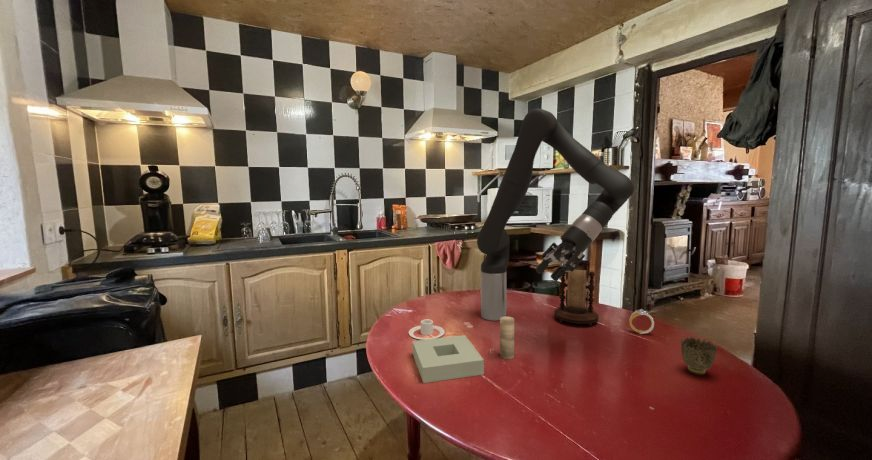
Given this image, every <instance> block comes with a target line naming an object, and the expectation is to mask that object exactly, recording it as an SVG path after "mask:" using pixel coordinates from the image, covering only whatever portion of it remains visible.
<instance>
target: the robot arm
mask: <svg viewBox="0 0 872 460" xmlns="http://www.w3.org/2000/svg"><path fill="white" fill-rule="evenodd" d="M520 125H521V126H520V129H519V132H518V136H517V140H516V144H515V146H514V150H513V152H512V154H511V156H510V159H509V162H508V164H507V167H506V169H505V172H504V174H503V176H502V179H501V181H500V184H499V186H498V189H497V192H496V195H495V197H494V200H493V202H492V205H491V207H490V211H489V213H488V215H487V217H486V218H485V221H484V223H483V225H482V227H481V229H480V231H479V233H478V235H477V240H476V246H477V248H478V250H479V251H480V252H481V253H482V254H484V255H485V257H484V259H483V260H482V262H481V264H480V317H481V318H482V319H484V320H486V321H496V322H497V321H500V318H501V317H505V316H507V270H508V269H507V268H508V264H509V261H510V236H509V233H508V232H507V230H506V229H505V227H506V226H507V224H508V222H509V220H510V219H511V217H513V215H514V213H515V212H516V211H517V209H519V207H520V206H521V205H522V202H523V201H524V199H525V197H526V195H527V192H528V190H529V188H530V185H531V182H532V178H533V170H534V163H535V157H536V154H537V152H538V150H539V148H540V147H541V144H542V142H544V143H545V144H547V145H548V146H550V147H551V148H553V149H554V150H555V151H557V153H558V154H559V155H560V156H561V157H562V158H563V159H564V160H565V161H566V163H567V164H568V166H570V168H571V169H572V170H574V171H575V172H576V174H578V175H579V176H580V177H581V178H582V179H584V180H585V181H586V182H587V183H589V184H590V185H598V186H600V187H601V188H602V189H603V190H602V192H601V193H599V195H598V197H597V198H596V199H595V200H594V201H593V202H592V203H590V204H589V205H588V206H587V207H586V209H585V210H583V212H582V213H581V215H579V216H578V217H577V218H576V219H575V220H574V221H573V222H572V224H571V225H570V226H568V228H567V229H566V231H564V233H563V234H562V235H561V236H560V239H561V242H560V243H559V244H557V243H556V242H552V244H550V245H549V247H547V249H545V251H544V252H543V253H541V255H540V258H542V261H541V262H539V264H538V266H536V268H535V271H536V272H537V273H538V274H540V275H542V274H543V273H544V272H545V271H546V269H547V268H548V267H549V265H551V264H554V263H558V262H560V264H559V266H557V267H556V269H554V270H553V272H552V273H551V275H550V279H552V280H553V281H554V282H557V281H559V279H561V277H562V275H563V274H564V273H565V272H567V271H571V272H572V271H574V269H575V270H576V268H577V267H578V266H579V265H580V263H581V262H582V261H583V260H584V259H585V257H586V255H585V254H584V252H585V251H586V250H587V249H588V248H589V247H590V245H591V244H592V243H594V241H595V240H596V238H598V237H599V234H600V233H601V232H602V230H603V229H604V228H605V227H606V226H607V225H608V223H609V221H611V220H612V218H613V216H614V215H615V214H616V213H617V212H618V211H619V209H621V208H622V207H623V205H624V204H625V203H626V202H627V201H628V200H629V199H630V197H631V196H632V195H633V194H634V191H635V185H634V182H633V181H632V179H630V177H628V176H627V175H626V174H625V173H624V172H621V171H619V170H617V169H616V168H613V167H611V166H609V165H607V164H606V163H605V162H604V161H603V160H601V158H599V157H598V156H596V155H595V154H594V153H593V152H592V151H591V150H589V149H588V148H586V147H585V146H584V145H583V144H581V143H580V142H579V141H578V140H577V139H575V137H573V136H572V135H571V134H570V133H569V132H568V131H567V130H566V129H565V128H564V126H563V125H562V124H561V123H560V121H559V120H558V119H557V117H555V115H554V114H553V113H552V112H550V111H548V110H545V109H543V108H533V109H531V110H530V111H528V112H527V113H526V115H525V116H524V117H523V119H522V123H521V124H520Z"/></svg>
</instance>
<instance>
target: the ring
mask: <svg viewBox="0 0 872 460" xmlns="http://www.w3.org/2000/svg"><path fill="white" fill-rule="evenodd" d="M642 315H643V316H646V317H647V318H649V320H650V322H651V325H650V327H649V328H648V329H646V330H643V329H637V328H636V327H635V326H634V325H633V320H634V319H635V318H636V317H639V316H642ZM628 320H629V326H630V328H631V329H632V330H633V331H634V332H636V333H637V334H640V335H643V334H649V333H650V332H651V331H653V330H654V327H655V321H654V318H653V317H652V315H650V314H649V313H648V310H644V309H643V308H640V309H635V311H634V312H633V313H631V315H630V317H629V319H628Z"/></svg>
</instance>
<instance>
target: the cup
mask: <svg viewBox="0 0 872 460" xmlns="http://www.w3.org/2000/svg"><path fill="white" fill-rule="evenodd" d="M680 344H681V345H680V346H681V357H682V360H683V362H684V363H685V364H686V365H687V370H688V371H689V373H691V374H693V375H695V376H696V375H697V376H703V375H705V374H706V371H707V370H709V369H710V368H711V367H712V366H713V364H714V361H715V357H716V353H717V350H718V345H715V343H711V342H710V340H708V341H707V340H706V339H703V340H702V341H701V338H700V337H699V338H697V339H696V338H695V337H693V336H691V337H687V336H685V337H684V340H683V339H680Z"/></svg>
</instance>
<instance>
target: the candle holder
mask: <svg viewBox="0 0 872 460" xmlns="http://www.w3.org/2000/svg"><path fill="white" fill-rule="evenodd" d="M417 330H420V334H421V335H422V336H431V335H433V334H434V330H437V331H438V332H439V334H438V335H435V336H433V337H418V336H417V335H415V334H414V333H415V331H417ZM408 335H409V336H410V337H411V338H413V339H416V340H427V339H436V338H442V337H443V335H445V329H444V328H443V327H440V326H438V325H434V321H433V320H432V319H428V318H426V319H422V320H421V321H420V325H417V326H414V327H412V328H410V329H409V330H408Z"/></svg>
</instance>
